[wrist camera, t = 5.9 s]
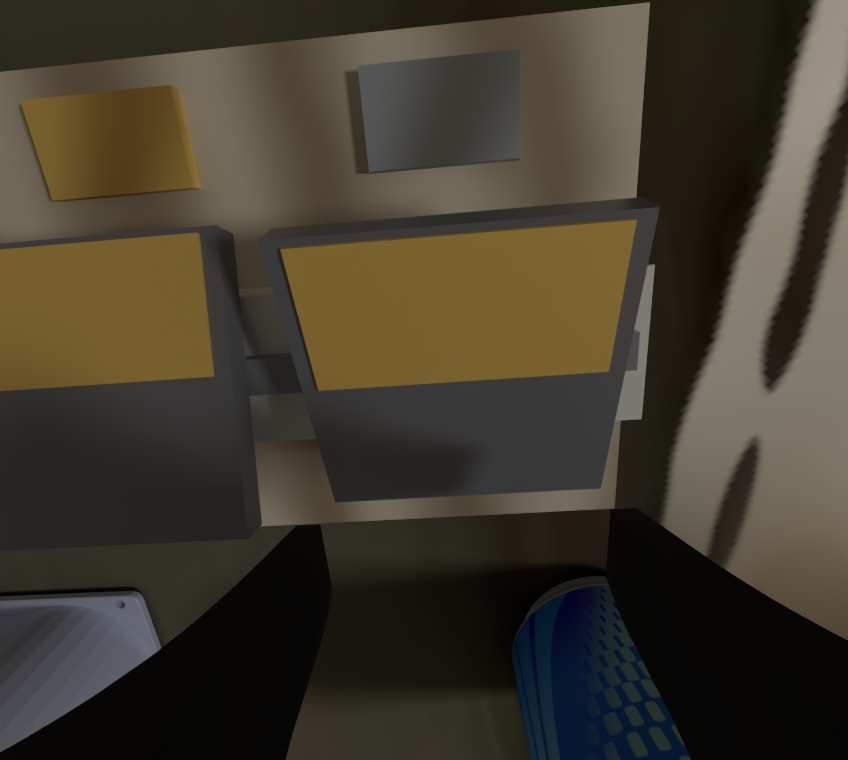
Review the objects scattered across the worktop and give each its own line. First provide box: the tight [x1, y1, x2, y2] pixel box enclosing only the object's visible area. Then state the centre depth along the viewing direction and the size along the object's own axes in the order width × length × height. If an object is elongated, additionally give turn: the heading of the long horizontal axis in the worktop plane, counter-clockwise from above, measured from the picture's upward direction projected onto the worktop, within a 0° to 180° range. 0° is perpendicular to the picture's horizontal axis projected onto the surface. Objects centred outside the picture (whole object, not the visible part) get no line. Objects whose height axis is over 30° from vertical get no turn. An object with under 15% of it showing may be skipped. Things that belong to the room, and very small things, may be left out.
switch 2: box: [258, 197, 660, 503], centre depth 13 cm, size 9×9×1 cm
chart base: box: [0, 3, 650, 526], centre depth 17 cm, size 23×18×2 cm
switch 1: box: [0, 225, 262, 551], centre depth 13 cm, size 9×9×1 cm
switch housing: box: [239, 264, 655, 442], centre depth 16 cm, size 22×5×4 cm, turn 95°
